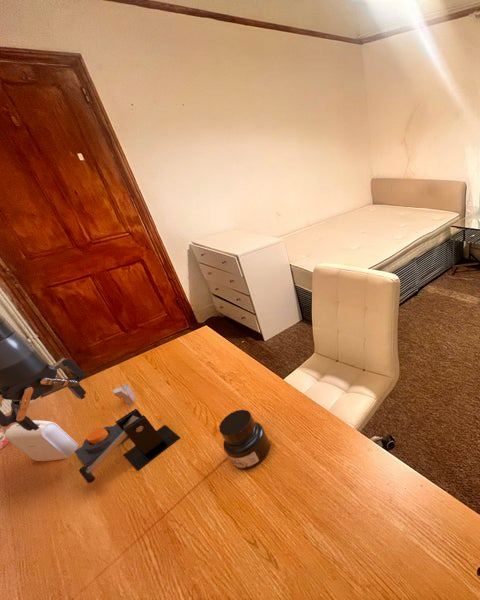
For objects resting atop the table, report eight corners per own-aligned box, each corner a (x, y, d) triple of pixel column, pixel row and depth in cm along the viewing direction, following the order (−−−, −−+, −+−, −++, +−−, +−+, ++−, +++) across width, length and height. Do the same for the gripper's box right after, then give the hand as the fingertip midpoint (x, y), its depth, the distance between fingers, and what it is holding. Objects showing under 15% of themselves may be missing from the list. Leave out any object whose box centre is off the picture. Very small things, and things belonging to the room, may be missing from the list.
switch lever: (93, 484, 68) (82, 482, 66) (85, 473, 70) (74, 470, 69) (148, 424, 75) (139, 421, 73) (138, 416, 77) (130, 412, 75)
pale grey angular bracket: (128, 396, 96) (114, 378, 92) (135, 393, 97) (121, 375, 93) (127, 411, 91) (112, 392, 87) (134, 408, 92) (119, 389, 87)
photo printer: (31, 463, 78) (-6, 433, 72) (47, 447, 82) (13, 417, 76) (69, 461, 78) (36, 431, 72) (84, 445, 82) (53, 415, 75)
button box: (89, 469, 76) (79, 460, 74) (79, 456, 79) (69, 447, 77) (135, 437, 83) (127, 428, 81) (124, 426, 86) (116, 417, 84)
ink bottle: (223, 463, 75) (203, 432, 69) (249, 432, 82) (233, 402, 75) (254, 475, 72) (236, 444, 65) (279, 442, 79) (265, 411, 72)
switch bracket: (139, 473, 74) (112, 443, 68) (125, 457, 78) (98, 428, 72) (181, 439, 81) (160, 410, 75) (167, 427, 85) (145, 398, 79)
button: (94, 447, 77) (89, 442, 76) (88, 440, 79) (84, 436, 78) (111, 435, 80) (107, 431, 79) (105, 429, 81) (101, 425, 80)
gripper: (40, 332, 67) (85, 385, 75) (-59, 380, 56) (7, 435, 64) (61, 338, 64) (105, 392, 73) (-38, 388, 53) (27, 445, 62)
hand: (59, 412), depth 69 cm, fingers open, 8 cm apart
